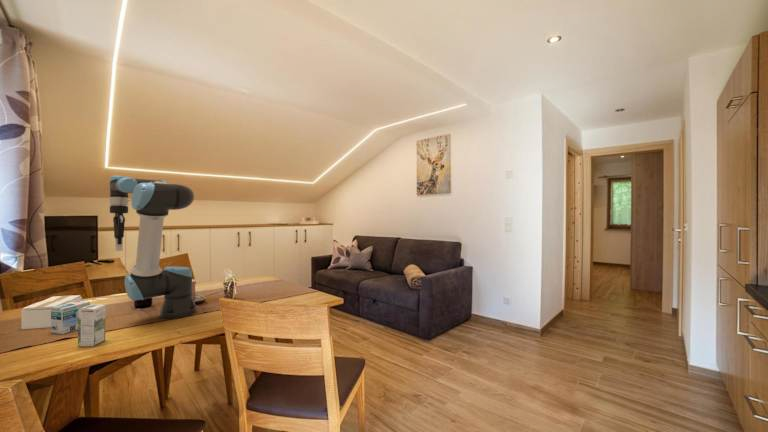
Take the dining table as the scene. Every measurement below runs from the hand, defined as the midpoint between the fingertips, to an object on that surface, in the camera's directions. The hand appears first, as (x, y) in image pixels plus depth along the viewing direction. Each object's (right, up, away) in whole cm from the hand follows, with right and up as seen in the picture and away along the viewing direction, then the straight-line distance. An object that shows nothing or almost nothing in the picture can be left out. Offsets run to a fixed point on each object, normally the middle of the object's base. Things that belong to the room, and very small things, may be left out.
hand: (118, 250), depth 169 cm
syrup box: (+26, -31, -44) cm, 60 cm away
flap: (-13, -21, -17) cm, 31 cm away
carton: (-12, -30, -21) cm, 39 cm away
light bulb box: (+4, -31, -30) cm, 43 cm away
